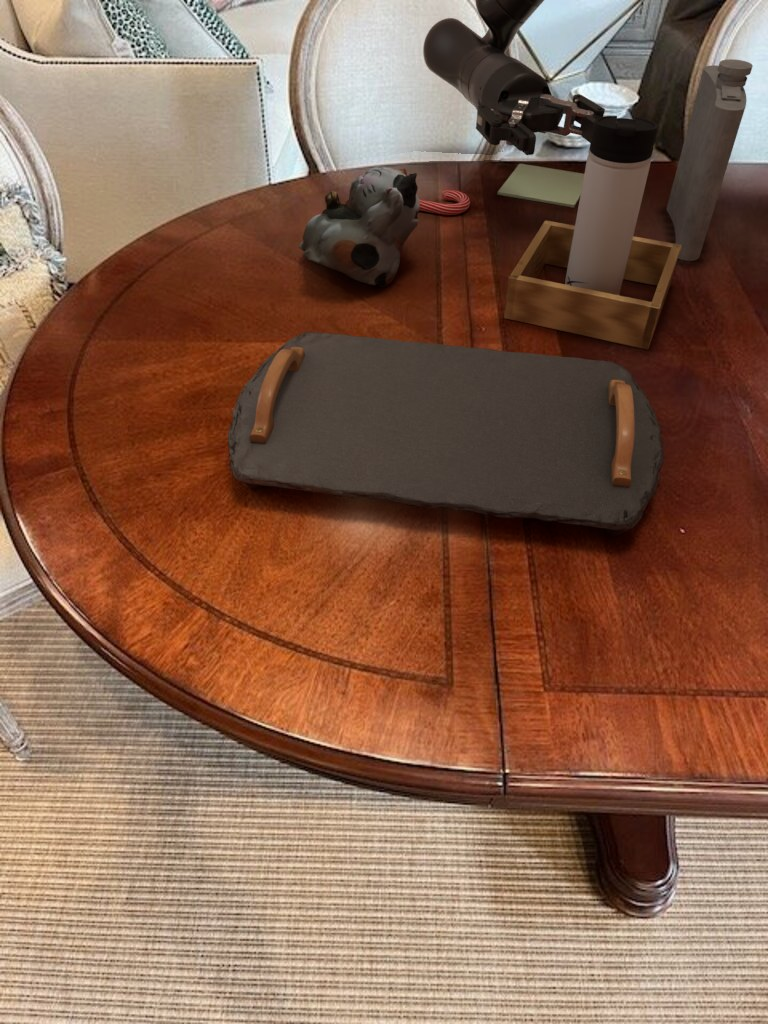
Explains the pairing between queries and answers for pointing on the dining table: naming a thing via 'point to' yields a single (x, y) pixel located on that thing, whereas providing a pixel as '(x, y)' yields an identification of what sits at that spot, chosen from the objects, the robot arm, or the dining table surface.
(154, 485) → the dining table surface
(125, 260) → the dining table surface
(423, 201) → the candy cane
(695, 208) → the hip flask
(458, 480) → the serving tray
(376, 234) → the lucky cat figurine
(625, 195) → the travel mug
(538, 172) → the placemat
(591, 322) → the wooden box
